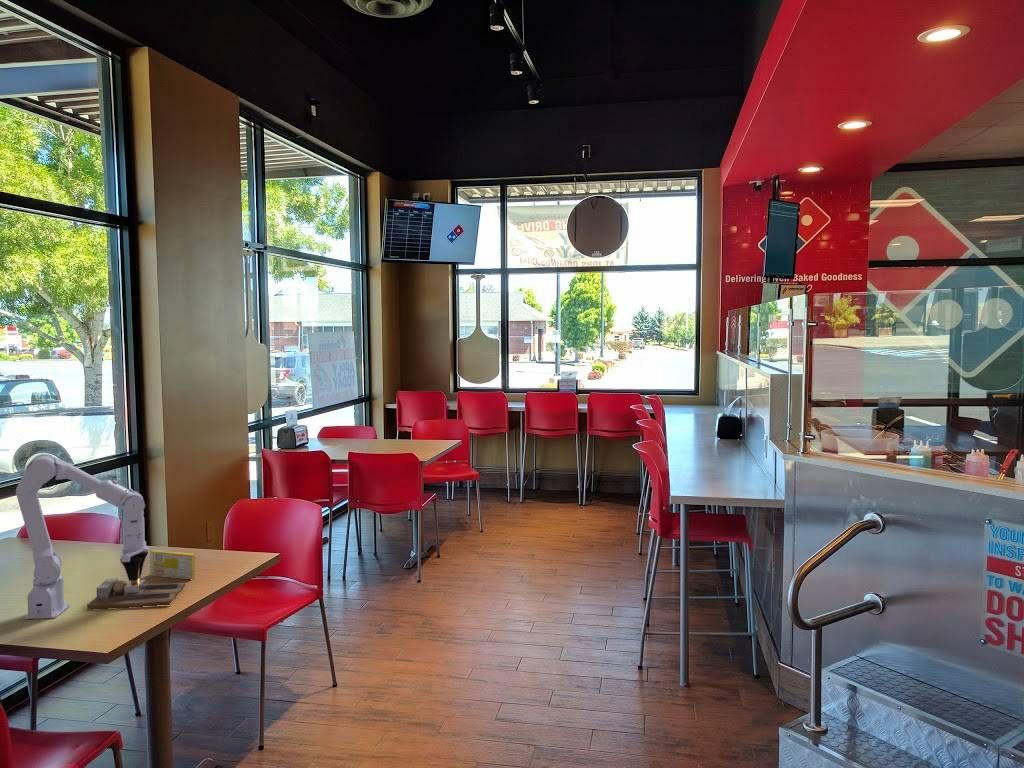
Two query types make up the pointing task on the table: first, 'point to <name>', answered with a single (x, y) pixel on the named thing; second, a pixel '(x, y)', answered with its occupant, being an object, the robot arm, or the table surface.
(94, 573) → the table surface
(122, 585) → the tan oval solid
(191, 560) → the candy box
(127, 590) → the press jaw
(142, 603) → the press bench
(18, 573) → the table surface
